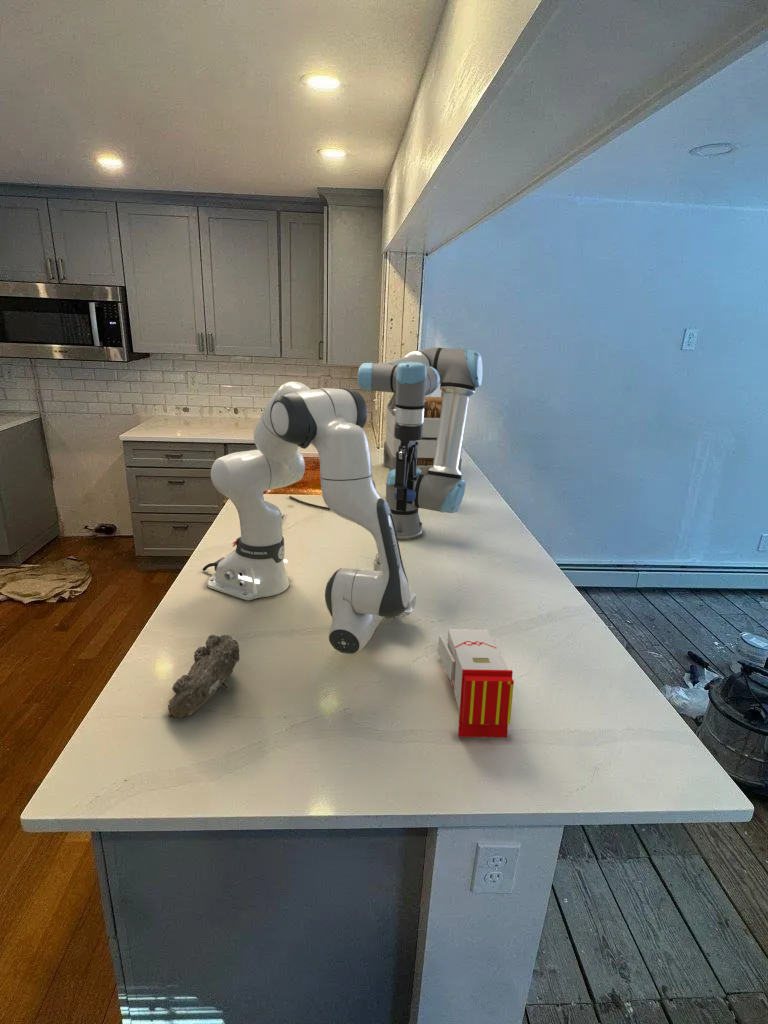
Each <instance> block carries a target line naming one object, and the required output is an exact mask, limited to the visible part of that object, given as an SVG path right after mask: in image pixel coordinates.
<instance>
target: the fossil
mask: <svg viewBox="0 0 768 1024" xmlns="http://www.w3.org/2000/svg"><path fill="white" fill-rule="evenodd" d="M239 647H240V645H239V642H238V641H237V640H236V639H234V638H233V637H232V636H231V635H230V634H223V635H215V634H210V635H209V636H208V637H207V640H206V641H205V646H198V647H197V648H196V649H195V651H194V655H193V658H194V659H193V661H194V662H193V664H192V666H191V667H190V669H189V671H188V674H182V675H181V676H180V678H178V679H177V680H176V681H175V682H174V683H173V686H172V688H171V690H172V691H173V692H174V693H175V694H174V695H173V697H172V698H171V699H169V701H168V705H167V710H168V715H169V716H173V717H174V718H181V717H186V716H191V715H193V714H194V713H195V712H196V711H197V710H198V709H200V708H201V707H202V706H203V705H204V704H205V703H206V702H207V701H208V700H209V699H210V698H211V697H212V696H214V695H215V693H216V691H217V689H218V688H220V687H221V686H222V687H224V689H225V690H228V689H229V686H228V685H227V683H225V682H224V681H225V680H226V678H229V677H230V676H231V674H232V673H233V671H234V668H235V667H236V666H237V663H239V662H240V658H241V655H240V648H239Z"/></svg>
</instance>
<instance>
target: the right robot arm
mask: <svg viewBox="0 0 768 1024" xmlns="http://www.w3.org/2000/svg"><path fill="white" fill-rule="evenodd" d="M483 371H484V370H483V359H482V356H481V354H480V352H479V351H478V350H473V349H468V348H451V347H450V348H449V347H427V348H423V349H418V350H414V351H410V352H409V353H407V354H406V355H405V356H403V357H400V358H396V359H392V360H388V361H383V362H379V363H378V362H377V363H376V362H363V363H362V364H361V365H360V366H359V367H358V370H357V384H358V386H359V388H360V389H361V390H363V391H370V392H381V393H382V392H383V393H393V394H394V393H396V404H395V406H396V407H395V409H394V411H393V412H394V413H395V422H396V424H395V425H394V437H395V438H396V439H399V440H400V441H401V443H400V445H399V449H398V451H396V469H393V470H391V471H390V470H389V472H388V473H387V475H386V482H385V501H386V502H387V503H388V505H389V507H390V510H391V513H392V517H393V521H394V525H395V529H396V534H397V539H398V541H410V540H415V539H418V538H420V537H421V536H422V535H423V522H422V521H421V518H420V515H419V509H422V510H428V511H433V512H439V513H447V514H453V513H456V512H457V511H458V510H459V508H460V506H461V504H462V502H463V499H464V496H465V491H466V485H467V484H466V480H465V479H462V477H463V473H461V472H462V471H461V472H460V471H459V469H458V467H459V460H460V454H461V455H462V453H461V447H462V448H463V443H462V441H463V442H464V440H463V439H464V433H465V426H466V420H467V415H468V408H469V401H470V398H471V397H472V396H473V395H474V394H475V392H476V388H480V387H481V386H482V382H483V373H484V372H483ZM438 388H439V390H440V391H441V392H443V394H444V395H443V401H442V408H441V415H440V421H439V428H438V435H437V441H436V448H435V455H434V461H433V466H432V465H431V466H429V468H428V469H427V472H426V474H424V473H422V469H421V468H419V467H418V466H417V450H418V444H419V443H418V442H415V441H417V440H420V439H422V436H423V426H422V423H423V422H424V402H425V397H427V396H429V395H432V394H433V393H434V392H435V391H436V390H437V389H438ZM408 489H412V490H414V491H415V492H416V498H415V500H413V501H409V502H407V490H408ZM395 490H397V500H396V499H395V498H394V493H395ZM288 498H289V499H291V500H293V501H294V502H295V501H296V502H297V503H301V504H303V505H306V506H310V507H314V508H317V509H318V508H319V509H323V510H327V511H328V510H329V511H331V510H330V509H329V507H328V506H322V505H318V504H314V503H309V502H306V501H303V500H300V499H298V498H296V497H294V496H292V495H289V496H288Z"/></svg>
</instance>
